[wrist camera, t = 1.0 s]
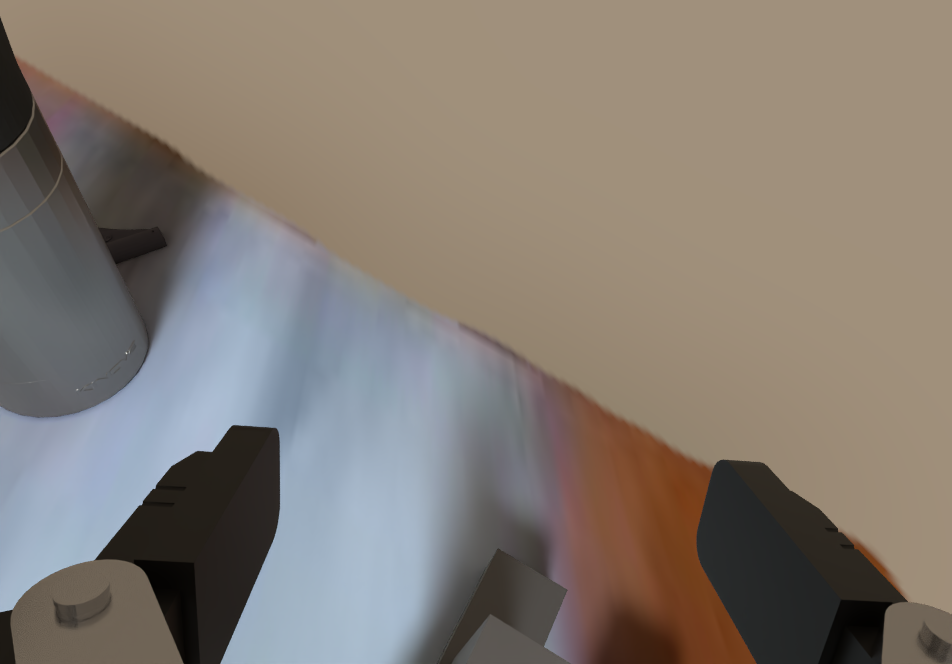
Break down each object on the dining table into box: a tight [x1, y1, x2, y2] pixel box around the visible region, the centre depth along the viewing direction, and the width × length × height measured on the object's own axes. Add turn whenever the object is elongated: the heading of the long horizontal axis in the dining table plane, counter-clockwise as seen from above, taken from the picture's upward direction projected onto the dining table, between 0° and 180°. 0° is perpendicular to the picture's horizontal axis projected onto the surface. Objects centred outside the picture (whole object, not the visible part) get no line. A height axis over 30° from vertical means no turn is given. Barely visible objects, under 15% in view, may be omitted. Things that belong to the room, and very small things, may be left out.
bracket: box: [98, 227, 167, 264], centre depth 44 cm, size 14×15×3 cm
